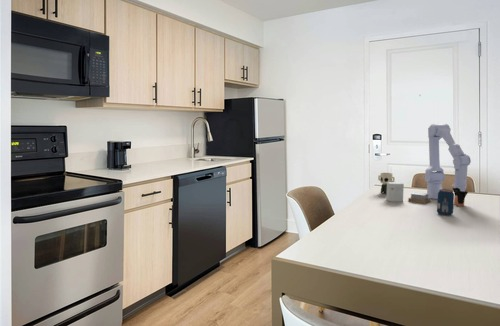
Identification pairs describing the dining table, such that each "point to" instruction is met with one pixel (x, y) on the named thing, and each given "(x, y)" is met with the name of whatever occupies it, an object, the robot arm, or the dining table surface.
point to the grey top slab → (419, 196)
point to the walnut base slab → (419, 200)
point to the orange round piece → (457, 201)
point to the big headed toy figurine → (385, 181)
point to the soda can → (445, 202)
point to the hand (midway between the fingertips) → (459, 202)
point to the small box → (395, 191)
